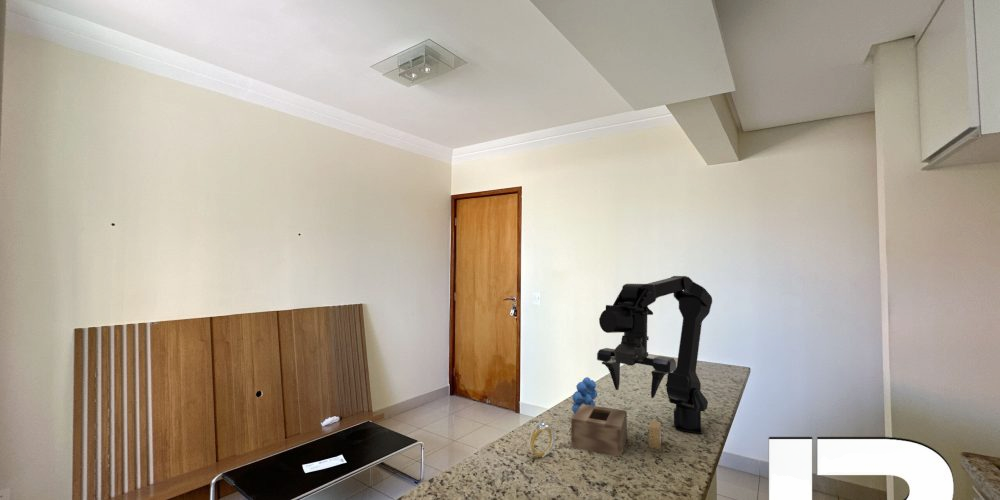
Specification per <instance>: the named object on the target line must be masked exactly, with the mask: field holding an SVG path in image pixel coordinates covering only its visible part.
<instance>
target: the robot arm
mask: <svg viewBox="0 0 1000 500" xmlns="http://www.w3.org/2000/svg"><path fill="white" fill-rule="evenodd" d="M621 287H622V288H621V290H620V292H619V294H618V295H617V297H616V298H615V301H614V302H613V304H612V305H611V304H606V305H605V310H603V311H602V312H601V314H600V315H599V318H598V319H599V320H598V323H599V326H600V328H601V329H602V331H603V332H605V333H607V334H611V333H612V334H615V333H619V334H620V333H623V335H622V337H621V341H620V343H618V345H617V346H616V347H615V348H609V347H605V348H601V349H599V350H598V351H597V353H596V360H597V361H600V362H601V365H605V367H606V368H607V370H608V372H609V374H610V376H611V380H612V383H613V385H614V386H613V387H614V389H615V391H619V389H620V378H621V375H620V374H621V364H623V365H627V366H635V365H636V364H638V365H639V364H640V365H645V366H648V367H650V366H651V367H652V368H653V369H654V370H652V371H650V373H651V376H652V378H651V387H650V389H651V390H650V398H651V399H653V398H655V396H656V394H657V392H658V389H659V387H660V384H661V382H662V381H663V379H664V377H665V376H666V375H667V377H666V384H665V387H666V394H667V397H668V400H669V401H668V402H669V403H670V404H673V405H675V407H674V408H673V425H674V426H675V430H676V431H680V432H687V433H692V434H699V435H700V434H701V435H702V434H703V430H702V414H701V413H702V412H705V411H706V410H707V409H708V403H709V401H708V399H707V398H706V397H705V395H704V394H703V393H702V391H701V385H702V384H701V381H700V378H699V376H698V374H697V364H698V358H699V357H698V356H699V349H700V348H699V347H700V341H701V331H702V324H703V321H704V320H705V319H706V317H708V315H709V314H710V312H711V306H712V304H713V298H712V295H711V294H710V293H709V292H708V291H707V289H706V288H704V286H702V285H700V284H698V283H696V282H695V281H693V280H692V279H691V277H689V276H686V275H673V276H670V277H668V278H663V279H660V280H656V281H652V282H648V283H625V284H623V285H622V286H621ZM671 294H673V298H675V300H676V301H677V302H678V310H679V313H680V314H681V317H682V325H681V331H680V332H681V333H680V339H679V348H678V354H677V361H676V360H675V359H674V357H667V356H662V355H659V356H655V357H654V358H653V357H652V358H651V357H649V351H648V341H649V335H648V316H652V315H654V312H653V311H652V310H651V309H650V308H649V305H652V304H654V303H655V302H656V301H657V299H658V298H660V297H664V296H667V295H671Z"/></svg>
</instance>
